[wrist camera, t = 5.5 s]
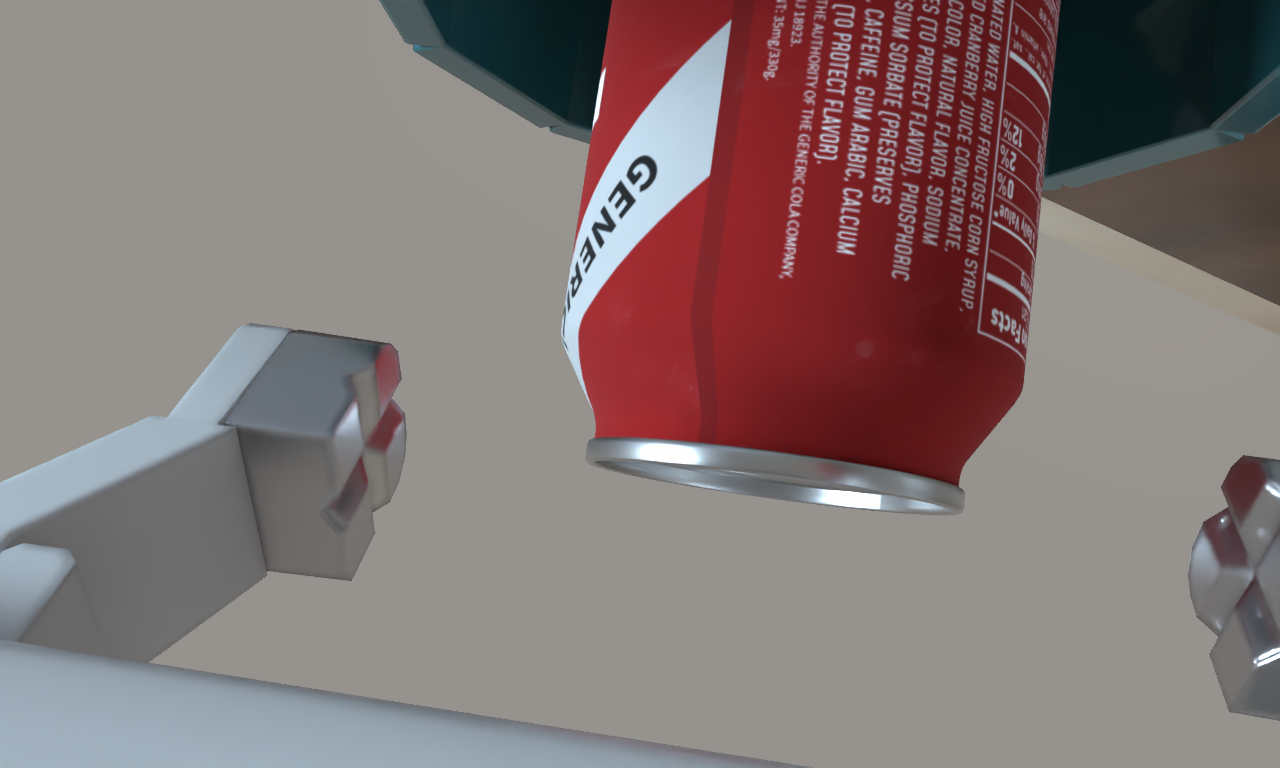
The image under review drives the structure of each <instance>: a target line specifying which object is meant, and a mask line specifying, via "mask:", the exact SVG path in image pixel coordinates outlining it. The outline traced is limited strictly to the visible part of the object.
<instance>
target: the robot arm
mask: <svg viewBox="0 0 1280 768" xmlns="http://www.w3.org/2000/svg"><path fill="white" fill-rule="evenodd" d="M400 381H401V371H400V363H399V356H398V351H397V350H396V349H395V348H394V346H393V345H392V344H390V343H383V342H377V341H370V340H363V339H357V338H350V337H344V336H337V335H330V334H324V333H317V332H311V331H304V330H293V329H289V328H281V327H274V326H267V325H259V324H251V323H250V324H247V325H244V326H241V327H239V328H238V329H237V330H236V331H235V333H234V334H233V335H232V336H231V338H230V339H229V340H228V342H227V343H226V344H225V345H224V347H223V348H222V349H221V350H220V352H219V353H218V354H217V355H216V356H215V358H214V359H213V360H212V362H211V363H210V364H209V365H208V367H207V368H206V369H205V370H204V372H203V373H202V374H201V375H200V377H199V378H198V379H197V380H196V382H195V383H194V384H193V385H192V387H191V388H190V389H189V390H188V392H187V393H186V394H185V396H184V397H183V398H182V399H181V400H180V402H179V403H178V404H177V406H176V407H175V408H174V409H173V410H172V412H171V413H170V414H169V415H168V417H167V418H166V417H159V416H150V417H148V418H146V419H143V420H141V421H139V422H137V423H135V424H132V425H130V426H128V427H126V428H123V429H121V430H119V431H116V432H114V433H112V434H109V435H107V436H105V437H103V438H100V439H98V440H96V441H94V442H91V443H89V444H87V445H84V446H82V447H80V448H78V449H75V450H73V451H71V452H69V453H66V454H64V455H62V456H59V457H57V458H55V459H53V460H50V461H48V462H46V463H44V464H41V465H39V466H37V467H34V468H32V469H30V470H28V471H25V472H23V473H21V474H19V475H16V476H14V477H12V478H10V479H7V480H5V481H3V482H0V768H813V767H806V766H800V765H794V764H787V763H780V762H775V761H768V760H762V759H755V758H749V757H743V756H737V755H730V754H723V753H717V752H710V751H704V750H698V749H692V748H686V747H679V746H673V745H666V744H660V743H654V742H647V741H641V740H635V739H628V738H622V737H616V736H609V735H603V734H596V733H590V732H584V731H577V730H571V729H565V728H558V727H552V726H546V725H539V724H533V723H527V722H520V721H514V720H508V719H502V718H495V717H489V716H483V715H476V714H470V713H464V712H457V711H451V710H445V709H438V708H432V707H425V706H419V705H413V704H406V703H400V702H394V701H387V700H380V699H375V698H369V697H362V696H356V695H349V694H343V693H337V692H331V691H324V690H317V689H312V688H305V687H299V686H292V685H286V684H280V683H273V682H267V681H261V680H255V679H248V678H241V677H236V676H229V675H223V674H216V673H210V672H204V671H197V670H191V669H185V668H178V667H172V666H166V665H159V664H153V663H149V662H150V661H151V660H153V659H154V658H155V657H157V656H158V655H159V654H161V653H162V652H163V651H165V650H166V649H167V648H169V647H170V646H172V645H173V644H174V643H176V642H177V641H179V640H180V639H181V638H183V637H184V636H185V635H187V634H188V633H189V632H191V631H192V630H194V629H195V628H196V627H198V626H199V625H200V624H202V623H203V622H204V621H206V620H207V619H208V618H210V617H211V616H213V615H214V614H215V613H217V612H218V611H219V610H221V609H222V608H224V607H225V606H226V605H228V604H229V603H230V602H232V601H233V600H235V599H236V598H237V597H238V596H240V595H241V594H243V593H244V592H245V591H247V590H248V589H250V588H251V587H252V586H254V585H255V584H256V583H258V582H259V581H261V580H262V579H263V578H265V577H266V576H267V571H273V572H281V573H290V574H298V575H307V576H315V577H322V578H330V579H339V580H347V581H352V579H353V577H354V575H355V573H356V570H357V569H358V567H359V565H360V562H361V561H362V558H363V556H364V554H365V552H366V550H367V548H368V546H369V544H370V542H371V540H372V538H373V536H374V534H375V530H374V522H373V513H372V512H374V511H376V510H378V509H379V508H381V507H383V506H384V505H386V504H388V503H389V502H390V501H391V498H392V496H393V494H394V492H395V490H396V487H397V485H398V483H399V480H400V475H401V471H402V467H403V463H404V458H405V451H406V422H405V413H404V412H403V411H402V410H401V409H400V407H399V406H398V405H397V404H396V403H395V401H394V400H393V399H392V396H393V394H394V392H395V390H396V388H397V386H398V384H399V383H400ZM1221 489H1222V491H1223V494H1224V496H1225V499H1226V501H1227V504H1228V508H1226V509H1224V510H1223V511H1221V512H1219V513H1218V514H1216V515H1214V516H1213V517H1211V518H1209V519H1208V520H1206V521H1204V522H1203V525H1202V527H1201V529H1200V531H1199V534H1198V536H1197V538H1196V540H1195V542H1194V545H1193V547H1192V553H1191V560H1190V566H1189V574H1188V577H1189V587H1190V596H1191V600H1192V603H1193V606H1194V609H1195V613H1196V615H1197V618H1198V619H1200V620H1201V621H1202V622H1203V623H1204V624H1205V625H1206V626H1208V628H1210V629H1211V630H1212V631H1213V632H1214V633H1215V634H1216V635H1217V636H1218V639H1217V641H1216V643H1215V645H1214V647H1213V649H1212V650H1211V652H1210V658H1211V660H1212V663H1213V666H1214V669H1215V672H1216V675H1217V678H1218V681H1219V683H1220V686H1221V689H1222V692H1223V695H1224V698H1225V701H1226V704H1227V707H1228V710H1229V712H1233V713H1238V714H1244V715H1250V716H1255V717H1261V718H1267V719H1273V720H1278V721H1280V460H1276V459H1269V458H1261V457H1253V456H1245V455H1243V456H1242V457H1241V458H1240V459H1239V460H1238V461H1237V462H1236V463H1235V464H1234V465H1233V466H1232V467H1231V468H1230V471H1229V472H1228V474H1227V476H1226V478H1225V480H1224V482H1223V484H1222V486H1221Z"/></svg>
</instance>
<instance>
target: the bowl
mask: <svg viewBox="0 0 1280 768" xmlns="http://www.w3.org/2000/svg"><path fill="white" fill-rule="evenodd" d="M380 2H381V4H382V5H383V7H384V9H385V10H386V12H387V13H388V15H389V17H390V18H391V20H392V21H393V23H394V25H395V27H396V28H397V30H398V31H399V33H400V35H401V36H402V38H403V40H404V41H405V42H406V43H408V44H413V50H414V51H415V52H416V53H418V54H420V55H421V56H423V57H424V58H426V59H428V60H429V61H431V62H433V63H434V64H436V65H437V66H439V67H441V68H442V69H444V70H446V71H447V72H449V73H451V74H452V75H454V76H456V77H457V78H459V79H461V80H462V81H464V82H465V83H467V84H469V85H471V86H472V87H474V88H475V89H477V90H479V91H481V92H482V93H484V94H485V95H487V96H488V97H490V98H492V99H494V100H495V101H497V102H498V103H500V104H502V105H503V106H505V107H507V108H508V109H510V110H512V111H513V112H515V113H516V114H518V115H520V116H521V117H523V118H525V119H526V120H528V121H530V122H531V123H533V124H535V125H536V126H538V127H540V128H542V127H550V131H551V132H552V133H556V134H559V135H562V136H565V137H569V138H572V139H575V140H579V141H582V142H585V143H589V144H590V141H591V134H592V128H593V121H594V115H595V109H596V102H597V96H598V89H599V83H600V76H601V70H602V64H603V57H604V51H605V44H606V38H607V31H608V25H609V19H610V12H611V6H612V0H380ZM1279 115H1280V0H1061V2H1060V12H1059V23H1058V33H1057V43H1056V54H1055V64H1054V74H1053V84H1052V95H1051V105H1050V115H1049V126H1048V136H1047V146H1046V157H1045V167H1044V177H1043V188H1042V190H1058V189H1061V188H1062V186H1063V184H1064V185H1066V186H1069V187H1072V188H1075V187H1079V186H1083V185H1086V184H1090V183H1093V182H1097V181H1100V180H1104V179H1107V178H1111V177H1115V176H1118V175H1122V174H1125V173H1129V172H1132V171H1136V170H1139V169H1143V168H1147V167H1150V166H1154V165H1157V164H1161V163H1164V162H1168V161H1171V160H1175V159H1179V158H1182V157H1186V156H1189V155H1193V154H1196V153H1200V152H1203V151H1207V150H1211V149H1214V148H1218V147H1221V146H1225V145H1228V144H1232V143H1235V142H1239V141H1243V140H1244V139H1245V134H1255V133H1257V132H1258V131H1260V130H1261V129H1262V128H1264V127H1265V126H1266V125H1268V124H1269V123H1270V122H1271V121H1273V120H1274V119H1275V118H1277V117H1278V116H1279Z"/></svg>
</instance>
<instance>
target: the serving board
mask: <svg viewBox="0 0 1280 768" xmlns="http://www.w3.org/2000/svg"><path fill="white" fill-rule="evenodd" d="M1042 197H1044V198H1046V199H1048V200H1050V201H1052V202H1055V203H1057V204H1059V205H1061V206H1063V207H1065V208H1068V209H1070V210H1072V211H1074V212H1076V213H1079V214H1081V215H1083V216H1085V217H1087V218H1089V219H1092V220H1094V221H1096V222H1098V223H1100V224H1103V225H1105V226H1107V227H1109V228H1111V229H1113V230H1116V231H1118V232H1120V233H1122V234H1124V235H1127V236H1129V237H1131V238H1133V239H1135V240H1137V241H1140V242H1142V243H1144V244H1146V245H1148V246H1151V247H1153V248H1155V249H1157V250H1159V251H1161V252H1164V253H1166V254H1168V255H1170V256H1172V257H1174V258H1177V259H1179V260H1181V261H1183V262H1185V263H1188V264H1190V265H1192V266H1194V267H1196V268H1198V269H1201V270H1203V271H1205V272H1207V273H1209V274H1212V275H1214V276H1216V277H1218V278H1220V279H1222V280H1225V281H1227V282H1229V283H1231V284H1233V285H1236V286H1238V287H1240V288H1242V289H1244V290H1246V291H1249V292H1251V293H1253V294H1255V295H1257V296H1260V297H1262V298H1264V299H1266V300H1268V301H1270V302H1273V303H1275V304H1277V305H1279V306H1280V115H1279V116H1278V117H1277V118H1275V119H1274V120H1273V121H1271V122H1270V123H1269V124H1268V125H1266V126H1265V127H1264V128H1262V129H1261V130H1260V131H1258V132H1257V133H1255V134H1245V139H1244V140H1243V141H1239V142H1235V143H1232V144H1228V145H1225V146H1221V147H1218V148H1214V149H1211V150H1207V151H1203V152H1200V153H1196V154H1193V155H1189V156H1186V157H1182V158H1179V159H1175V160H1171V161H1168V162H1164V163H1161V164H1157V165H1154V166H1150V167H1147V168H1143V169H1139V170H1136V171H1132V172H1129V173H1125V174H1122V175H1118V176H1115V177H1111V178H1107V179H1104V180H1100V181H1097V182H1093V183H1090V184H1086V185H1083V186H1079V187H1075V188H1072V187H1069V186H1066V185H1064V184H1063V186H1062V188H1061V189H1058V190H1042Z"/></svg>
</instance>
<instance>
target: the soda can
mask: <svg viewBox="0 0 1280 768" xmlns="http://www.w3.org/2000/svg"><path fill="white" fill-rule="evenodd" d="M1060 2H1061V0H612V6H611V12H610V19H609V25H608V31H607V38H606V44H605V51H604V57H603V64H602V70H601V76H600V83H599V89H598V96H597V102H596V109H595V115H594V121H593V128H592V134H591V141H590V147H589V154H588V160H587V166H586V173H585V179H584V186H583V192H582V199H581V205H580V211H579V218H578V224H577V231H576V237H575V243H574V250H573V256H572V263H571V269H570V276H569V282H568V289H567V295H566V302H565V308H564V314H563V321H562V331H561V332H562V341H563V344H564V347H565V349H566V352H567V354H568V356H569V359H570V361H571V363H572V365H573V368H574V370H575V372H576V374H577V377H578V379H579V381H580V383H581V386H582V388H583V390H584V392H585V394H586V397H587V399H588V401H589V403H590V406H591V408H592V410H593V413H594V416H595V421H596V433H595V438H593V439H591V440H589V441H588V444H587V449H586V456H585V459H586V462H587V463H588V464H590V465H593V466H596V467H599V468H602V469H606V470H610V471H614V472H618V473H623V474H627V475H632V476H637V477H642V478H647V479H653V480H657V481H663V482H668V483H674V484H680V485H686V486H692V487H698V488H704V489H711V490H717V491H723V492H730V493H736V494H744V495H750V496H757V497H765V498H771V499H779V500H786V501H794V502H802V503H810V504H818V505H826V506H835V507H844V508H852V509H862V510H872V511H883V512H893V513H906V514H921V515H957V514H960V513H962V511H963V508H964V501H965V492H964V491H963V489H961V488H960V487H959V486H958V485H959V479H960V474H961V471H962V468H963V466H964V465H965V463H966V461H967V460H968V459H969V458H970V457H971V455H972V454H973V453H974V452H975V451H976V449H977V448H978V447H979V446H980V445H981V443H982V442H983V441H984V440H985V439H986V437H987V436H988V435H989V434H990V433H991V431H992V430H993V429H994V428H995V427H996V425H997V424H998V423H999V422H1000V420H1001V419H1002V418H1003V417H1004V416H1005V414H1006V413H1007V412H1008V411H1009V410H1010V408H1011V407H1012V406H1013V405H1014V403H1015V402H1016V400H1017V399H1018V397H1019V396H1020V394H1021V391H1022V388H1023V383H1024V372H1025V363H1026V352H1027V342H1028V332H1029V322H1030V311H1031V301H1032V290H1033V280H1034V269H1035V260H1036V248H1037V239H1038V229H1039V219H1040V208H1041V198H1042V188H1043V177H1044V167H1045V157H1046V146H1047V136H1048V126H1049V115H1050V105H1051V95H1052V84H1053V74H1054V64H1055V54H1056V43H1057V33H1058V23H1059V12H1060Z"/></svg>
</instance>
